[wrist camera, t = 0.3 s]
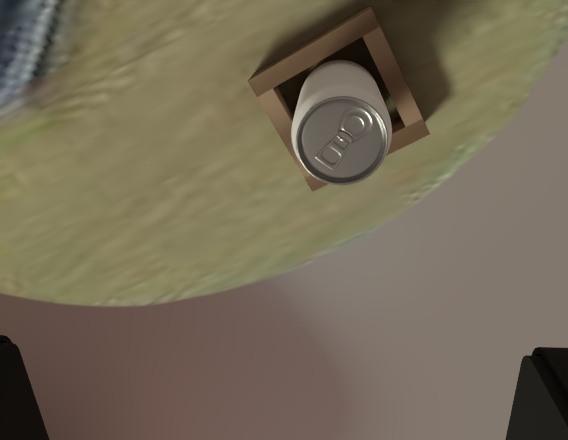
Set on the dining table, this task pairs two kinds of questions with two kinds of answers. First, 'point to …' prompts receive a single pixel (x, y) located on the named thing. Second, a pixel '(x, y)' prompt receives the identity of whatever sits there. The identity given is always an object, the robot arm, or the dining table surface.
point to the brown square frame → (316, 50)
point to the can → (341, 124)
